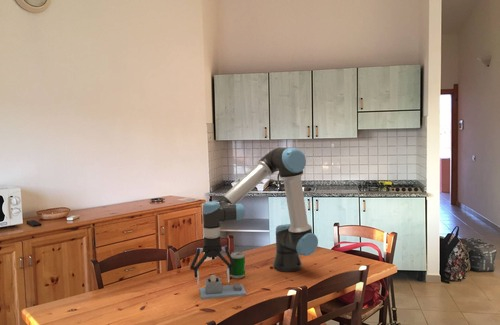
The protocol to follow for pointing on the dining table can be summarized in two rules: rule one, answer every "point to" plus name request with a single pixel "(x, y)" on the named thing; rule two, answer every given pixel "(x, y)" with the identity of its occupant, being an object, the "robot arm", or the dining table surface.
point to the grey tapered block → (213, 286)
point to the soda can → (238, 265)
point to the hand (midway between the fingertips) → (213, 283)
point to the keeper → (224, 290)
